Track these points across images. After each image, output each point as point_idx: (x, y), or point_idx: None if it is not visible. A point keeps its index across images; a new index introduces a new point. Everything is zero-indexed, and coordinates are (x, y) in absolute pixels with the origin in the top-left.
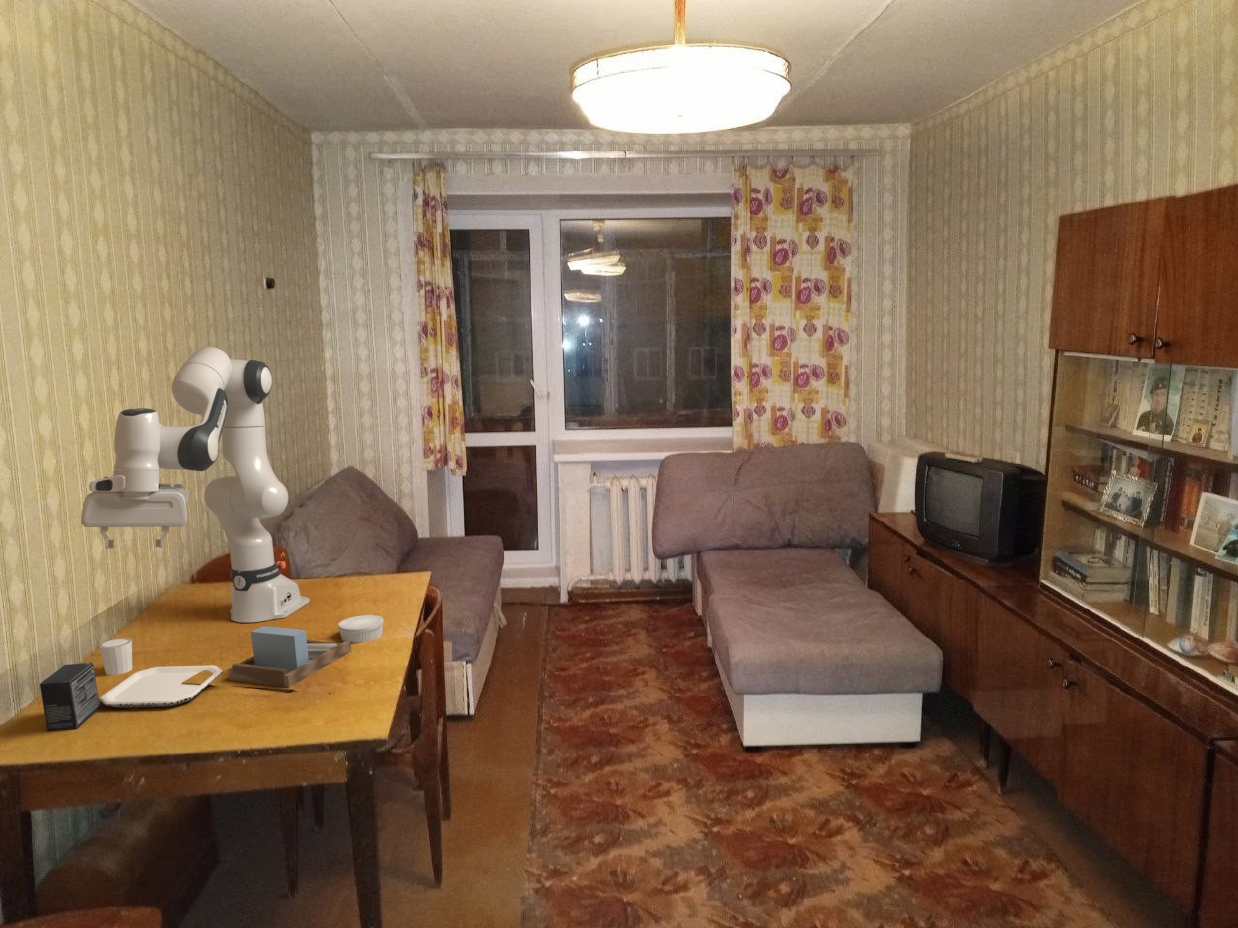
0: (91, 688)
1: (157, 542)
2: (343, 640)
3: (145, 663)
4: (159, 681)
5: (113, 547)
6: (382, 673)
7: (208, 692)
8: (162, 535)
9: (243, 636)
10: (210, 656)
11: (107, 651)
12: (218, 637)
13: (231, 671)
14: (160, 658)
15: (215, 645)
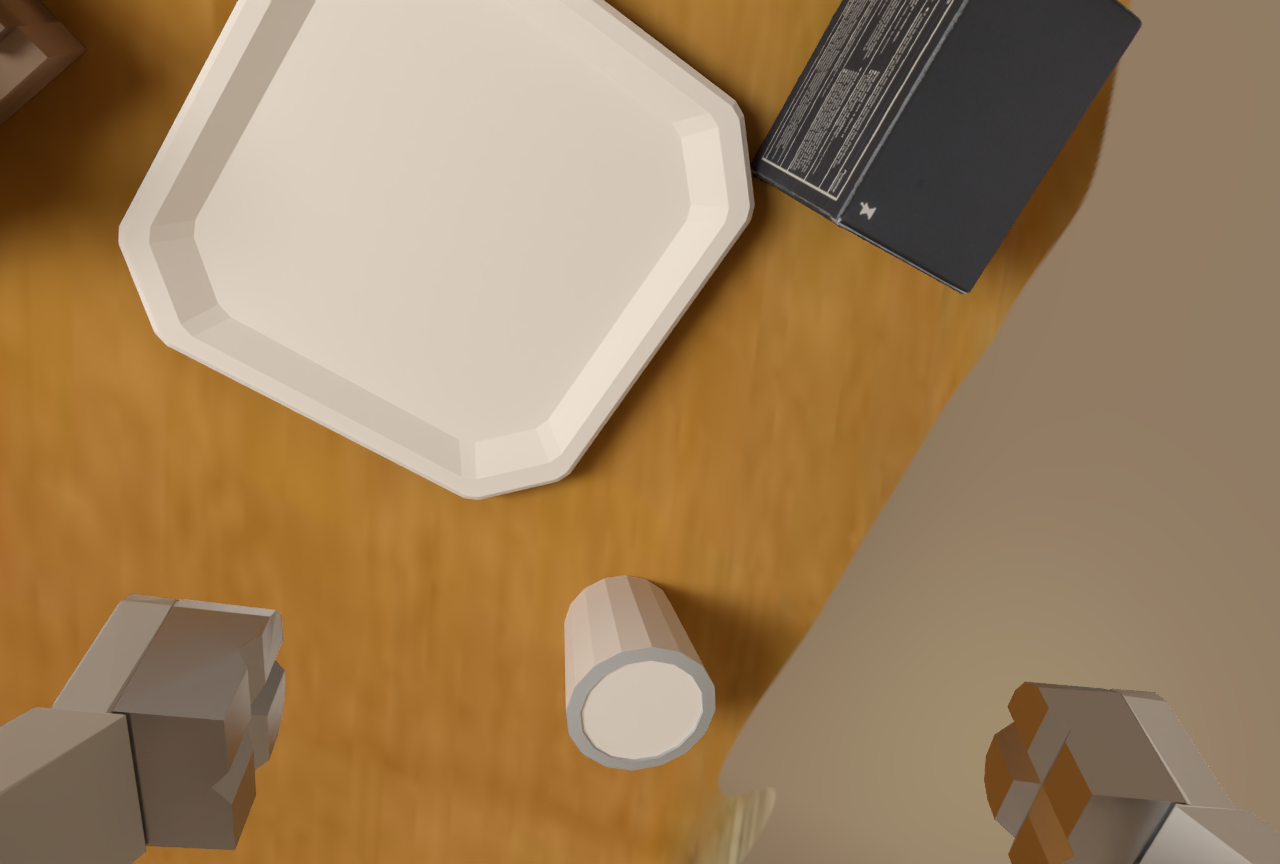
0: (823, 131)
1: (202, 666)
2: None
3: (505, 652)
4: (464, 315)
5: (1016, 711)
6: None
7: (217, 23)
8: (16, 807)
9: None
10: (200, 588)
11: (682, 647)
12: None
13: (32, 35)
14: (437, 682)
15: None
